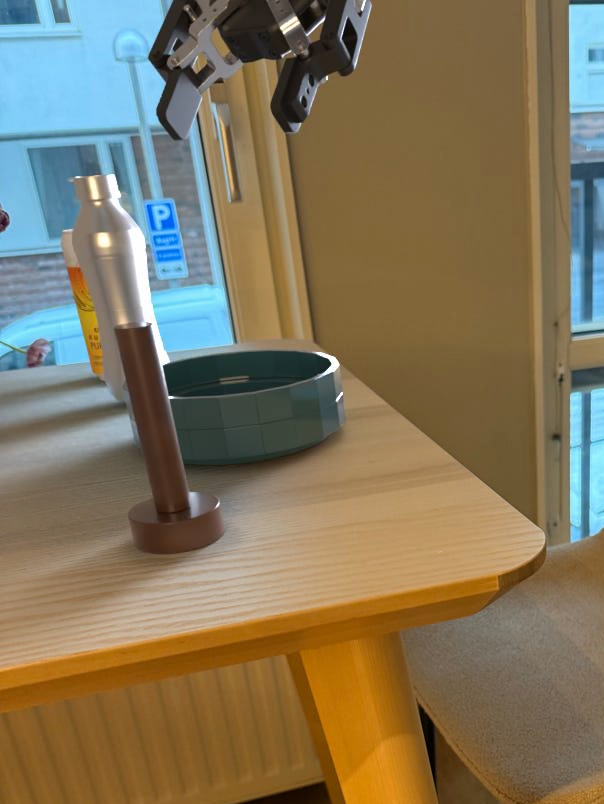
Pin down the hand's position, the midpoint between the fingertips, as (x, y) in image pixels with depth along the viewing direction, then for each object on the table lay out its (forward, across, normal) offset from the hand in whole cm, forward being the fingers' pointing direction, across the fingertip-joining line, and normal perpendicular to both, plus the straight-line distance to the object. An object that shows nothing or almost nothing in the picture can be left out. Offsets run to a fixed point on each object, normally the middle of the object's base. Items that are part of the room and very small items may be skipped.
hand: (225, 126), depth 57 cm
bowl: (+10, -10, +22) cm, 26 cm away
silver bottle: (+4, -27, +28) cm, 39 cm away
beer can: (-2, -38, +34) cm, 51 cm away
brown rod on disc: (+24, 0, +8) cm, 26 cm away
